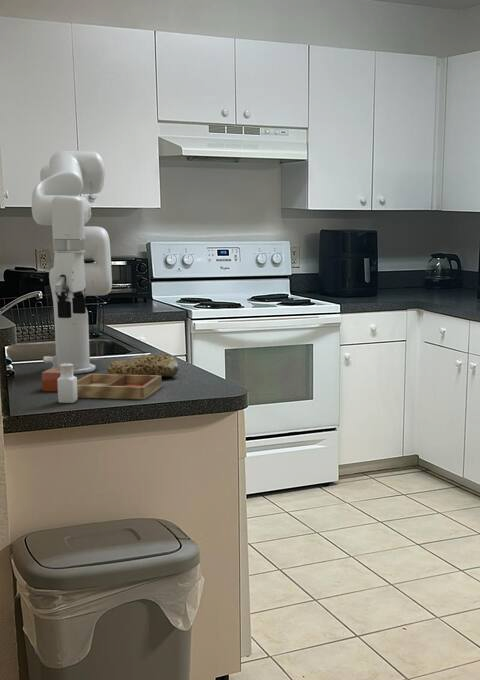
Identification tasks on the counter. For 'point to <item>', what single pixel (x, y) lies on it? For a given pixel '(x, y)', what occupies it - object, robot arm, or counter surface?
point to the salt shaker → (67, 384)
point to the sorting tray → (118, 386)
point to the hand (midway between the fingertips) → (72, 315)
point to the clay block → (50, 379)
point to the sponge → (146, 366)
